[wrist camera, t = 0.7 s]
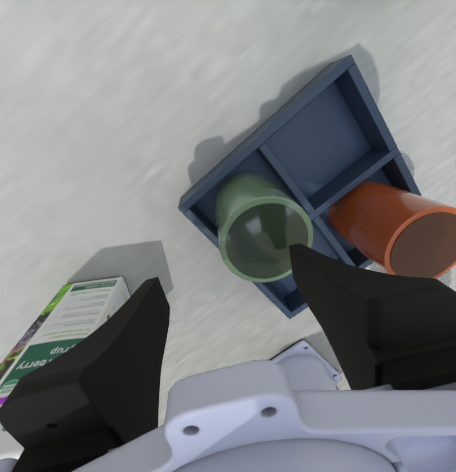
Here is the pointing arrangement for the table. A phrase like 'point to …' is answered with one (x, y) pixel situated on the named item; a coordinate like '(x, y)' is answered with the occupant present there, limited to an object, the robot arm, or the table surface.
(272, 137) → the cup rack
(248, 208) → the sage cup
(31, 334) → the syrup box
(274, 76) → the table surface
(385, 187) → the terracotta cup
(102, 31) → the table surface
